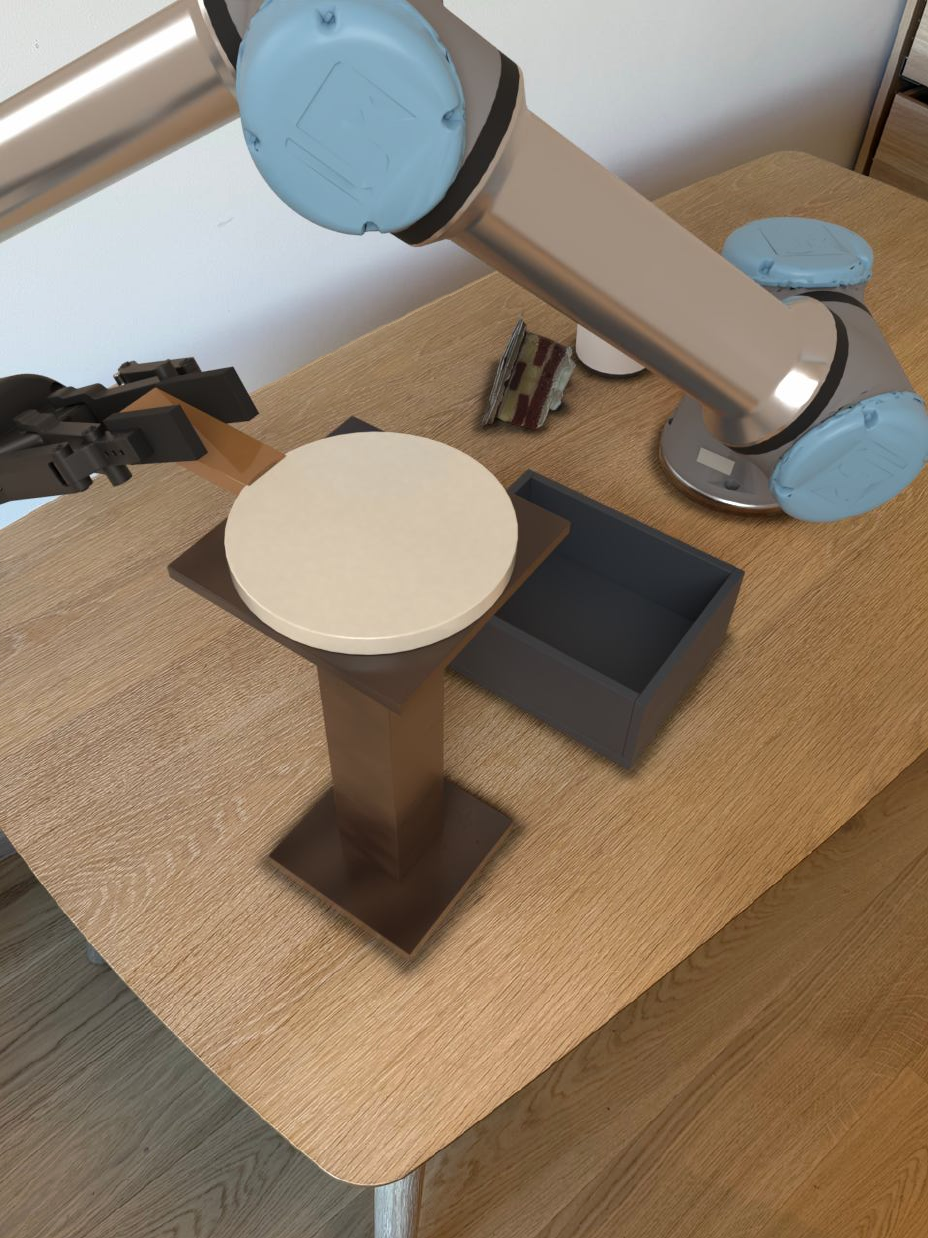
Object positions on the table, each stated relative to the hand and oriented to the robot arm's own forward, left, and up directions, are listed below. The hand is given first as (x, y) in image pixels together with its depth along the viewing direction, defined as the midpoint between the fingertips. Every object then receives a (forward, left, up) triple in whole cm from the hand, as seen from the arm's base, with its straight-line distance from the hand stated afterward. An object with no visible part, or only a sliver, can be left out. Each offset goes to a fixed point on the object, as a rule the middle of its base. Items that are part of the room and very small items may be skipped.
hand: (215, 412), depth 54 cm
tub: (-25, -2, -33) cm, 42 cm away
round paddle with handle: (-3, +5, -3) cm, 6 cm away
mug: (-48, -35, -34) cm, 68 cm away
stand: (-5, +9, -33) cm, 35 cm away
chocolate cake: (-36, -31, -34) cm, 58 cm away
